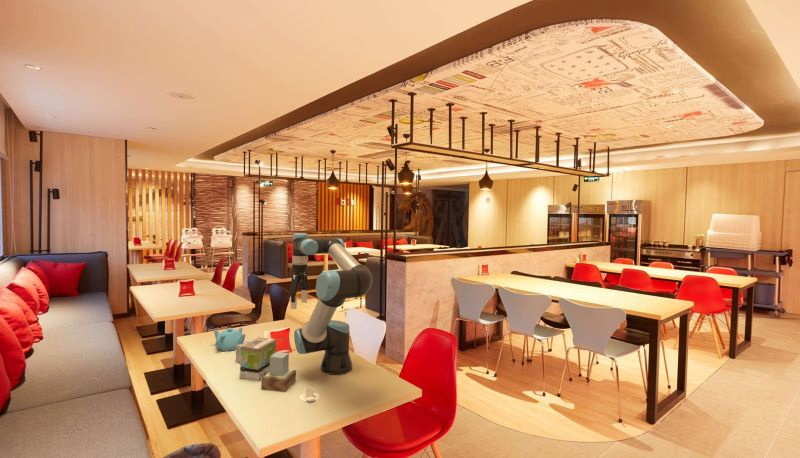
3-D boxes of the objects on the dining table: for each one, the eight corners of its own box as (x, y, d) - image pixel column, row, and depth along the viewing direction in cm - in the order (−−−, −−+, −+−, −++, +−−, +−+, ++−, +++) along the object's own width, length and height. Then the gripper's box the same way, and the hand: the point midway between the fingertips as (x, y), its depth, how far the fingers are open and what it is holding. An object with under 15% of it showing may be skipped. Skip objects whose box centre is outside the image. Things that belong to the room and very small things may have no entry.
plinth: (295, 381, 181) (296, 369, 181) (285, 391, 170) (285, 379, 170) (272, 378, 183) (273, 367, 183) (261, 389, 172) (261, 376, 172)
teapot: (213, 345, 225) (213, 326, 224) (242, 341, 232) (242, 323, 232) (215, 354, 212) (215, 333, 211) (245, 350, 219) (246, 330, 218)
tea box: (259, 380, 180) (259, 348, 180) (239, 378, 182) (239, 346, 182) (276, 368, 195) (276, 338, 194) (257, 366, 197) (257, 336, 196)
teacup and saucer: (314, 404, 161) (314, 394, 161) (295, 402, 162) (295, 392, 162) (322, 394, 169) (322, 385, 169) (304, 392, 171) (304, 383, 171)
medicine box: (241, 364, 199) (241, 346, 199) (235, 361, 201) (235, 344, 201) (254, 359, 206) (254, 342, 205) (248, 357, 208) (249, 340, 208)
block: (275, 369, 180) (276, 352, 180) (288, 370, 179) (288, 353, 179) (269, 374, 174) (269, 356, 174) (282, 376, 173) (282, 357, 173)
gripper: (297, 267, 190) (296, 311, 191) (315, 261, 214) (314, 300, 215) (282, 266, 191) (281, 310, 192) (302, 260, 215) (301, 299, 216)
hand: (298, 305), depth 204 cm, fingers open, 13 cm apart
